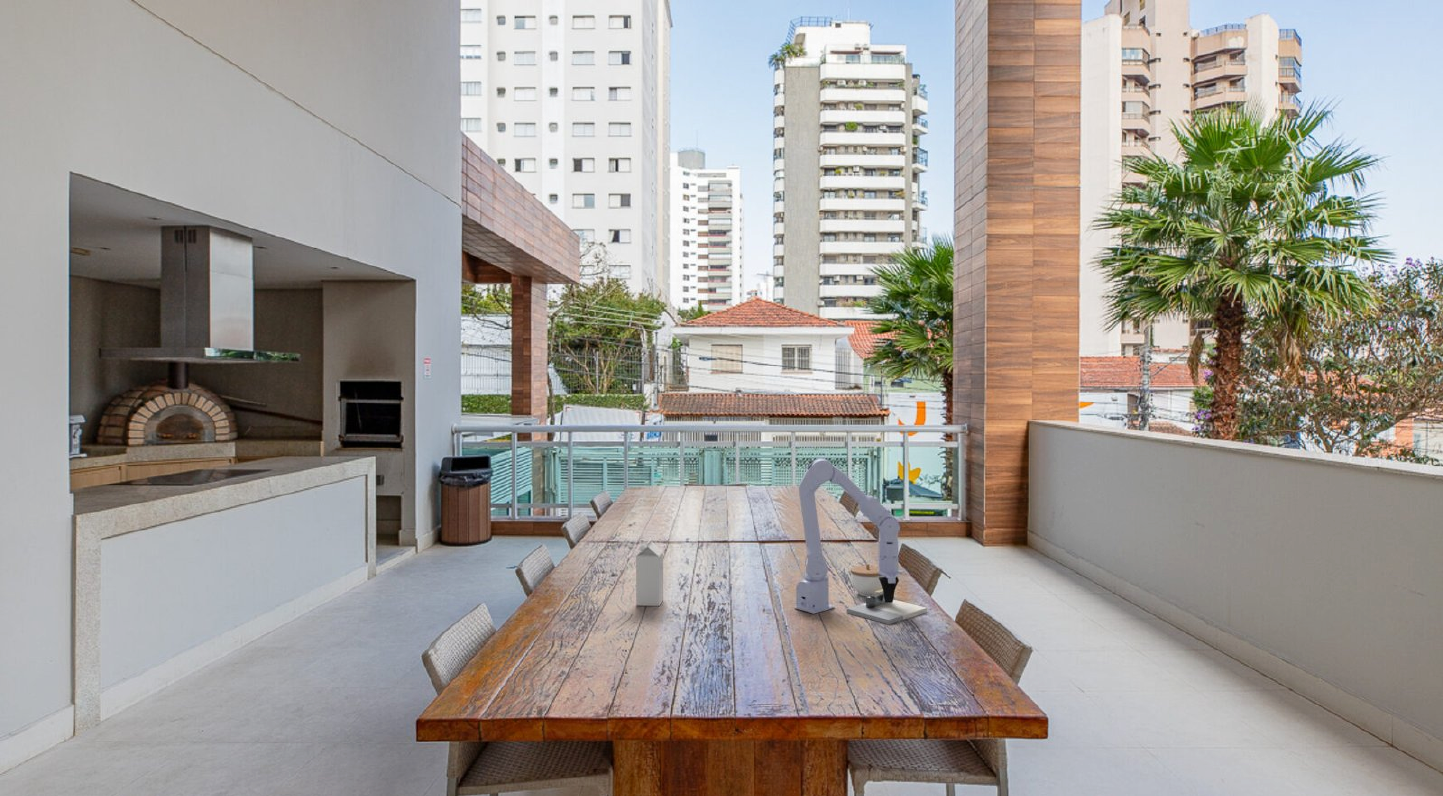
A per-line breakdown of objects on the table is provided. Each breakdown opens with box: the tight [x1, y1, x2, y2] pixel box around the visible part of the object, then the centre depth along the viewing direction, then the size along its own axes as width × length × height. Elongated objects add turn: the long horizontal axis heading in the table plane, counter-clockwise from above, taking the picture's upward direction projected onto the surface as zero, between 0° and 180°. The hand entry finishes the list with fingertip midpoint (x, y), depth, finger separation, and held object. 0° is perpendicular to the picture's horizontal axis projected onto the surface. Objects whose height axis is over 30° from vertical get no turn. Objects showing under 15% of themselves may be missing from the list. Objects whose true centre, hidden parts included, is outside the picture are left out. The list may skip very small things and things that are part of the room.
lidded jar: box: [850, 563, 884, 597], centre depth 242 cm, size 11×11×9 cm
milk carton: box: [635, 538, 664, 607], centre depth 232 cm, size 7×7×19 cm
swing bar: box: [865, 591, 886, 608], centre depth 225 cm, size 10×3×3 cm, turn 135°
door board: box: [846, 589, 928, 625], centre depth 221 cm, size 18×15×4 cm
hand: (888, 601), depth 224 cm, fingers closed, pressing on swing bar
